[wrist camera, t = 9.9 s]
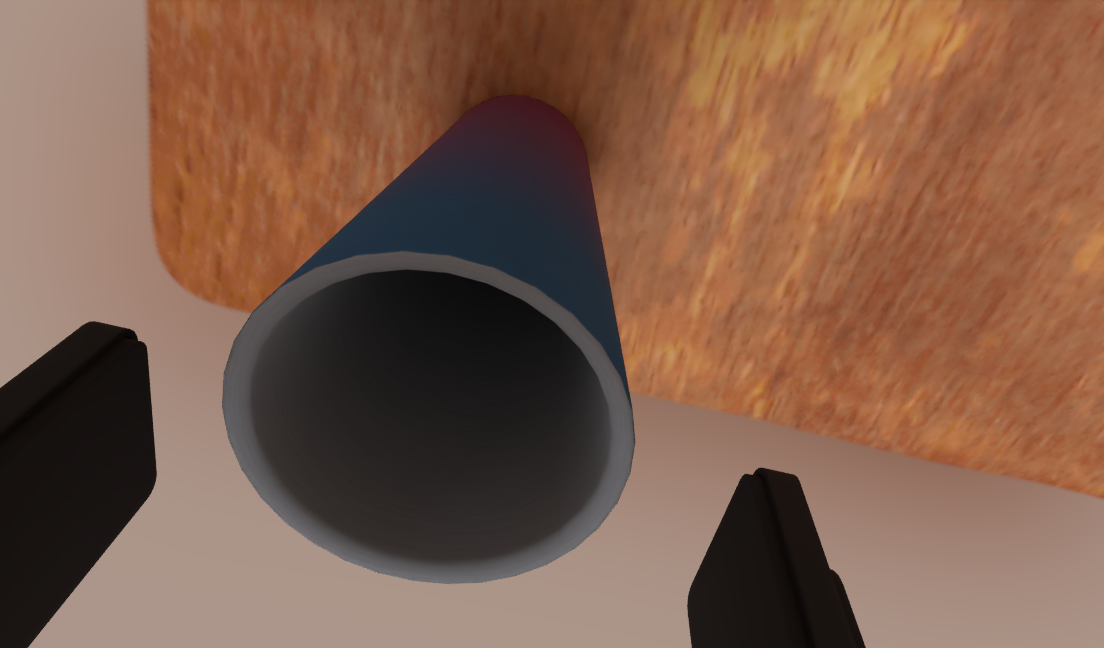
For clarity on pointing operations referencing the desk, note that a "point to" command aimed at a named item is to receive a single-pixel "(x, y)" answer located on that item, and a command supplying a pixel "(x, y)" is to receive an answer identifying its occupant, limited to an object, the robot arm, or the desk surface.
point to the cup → (446, 364)
